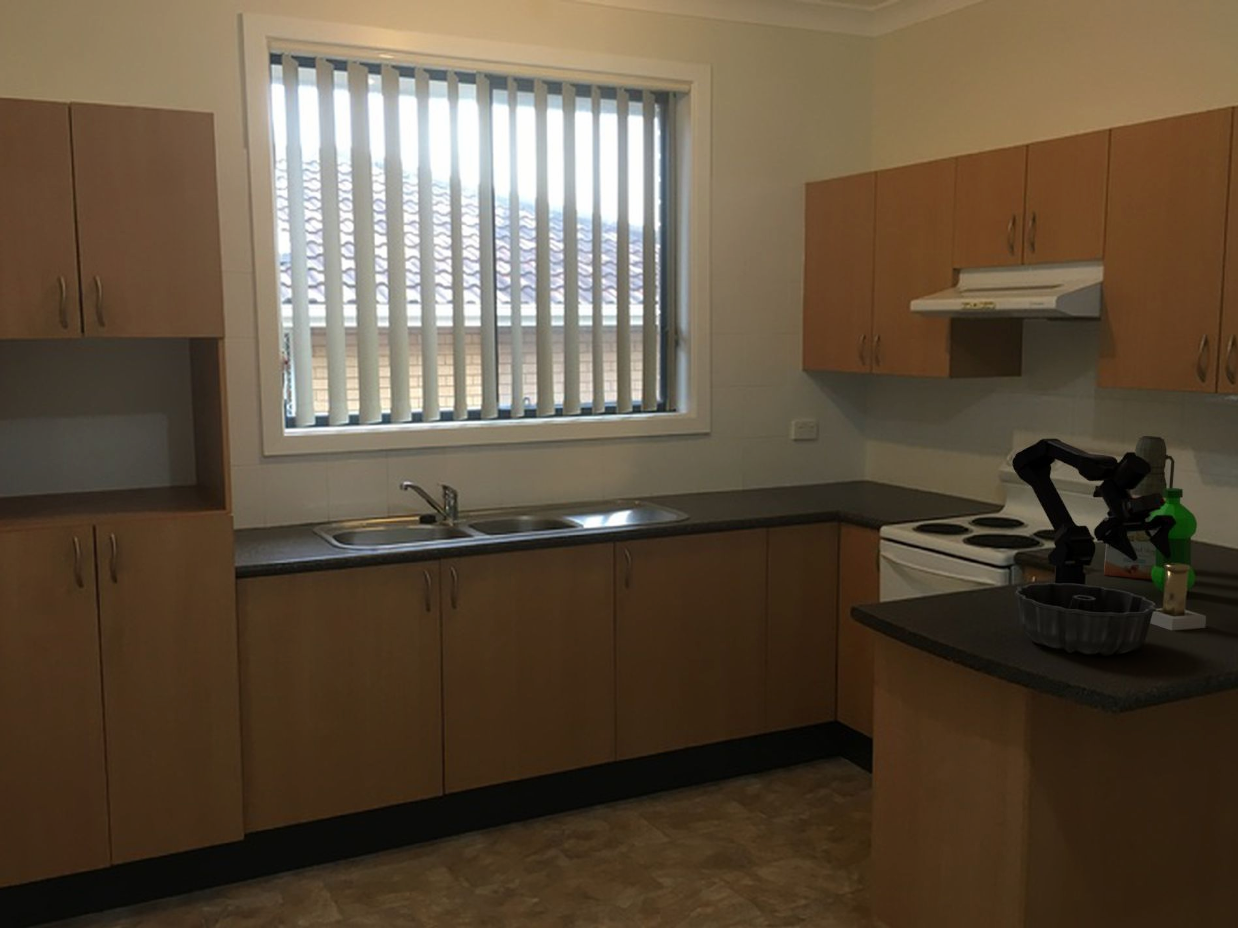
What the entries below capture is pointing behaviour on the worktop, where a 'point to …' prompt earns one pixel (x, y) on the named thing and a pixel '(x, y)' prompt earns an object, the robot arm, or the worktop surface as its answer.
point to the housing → (1178, 620)
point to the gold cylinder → (1175, 589)
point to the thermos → (1153, 466)
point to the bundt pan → (1084, 617)
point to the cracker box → (1127, 567)
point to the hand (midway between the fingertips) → (1152, 558)
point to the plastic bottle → (1175, 537)
